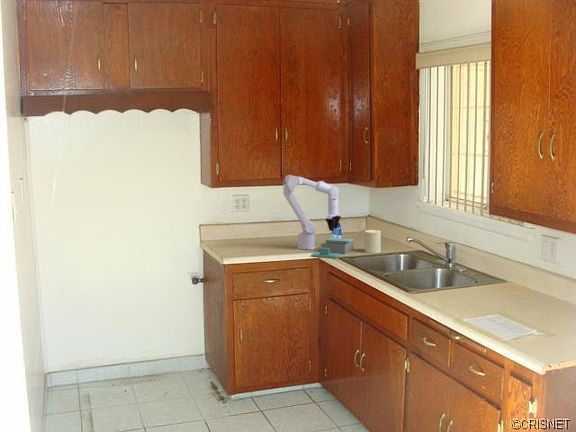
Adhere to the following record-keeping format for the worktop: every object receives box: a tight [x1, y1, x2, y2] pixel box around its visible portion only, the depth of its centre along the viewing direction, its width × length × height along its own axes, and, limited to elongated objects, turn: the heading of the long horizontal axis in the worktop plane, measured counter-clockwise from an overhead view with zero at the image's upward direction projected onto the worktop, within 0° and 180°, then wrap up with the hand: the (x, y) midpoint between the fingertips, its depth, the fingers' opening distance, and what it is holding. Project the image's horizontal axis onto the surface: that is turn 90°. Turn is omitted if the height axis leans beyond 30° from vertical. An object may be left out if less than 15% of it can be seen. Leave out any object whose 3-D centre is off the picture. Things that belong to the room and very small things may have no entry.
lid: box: [310, 247, 341, 259], centre depth 377 cm, size 14×8×5 cm, turn 67°
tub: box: [320, 237, 355, 255], centre depth 392 cm, size 14×16×6 cm
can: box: [363, 229, 382, 254], centre depth 389 cm, size 9×9×12 cm
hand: (333, 229), depth 402 cm, fingers open, 7 cm apart
